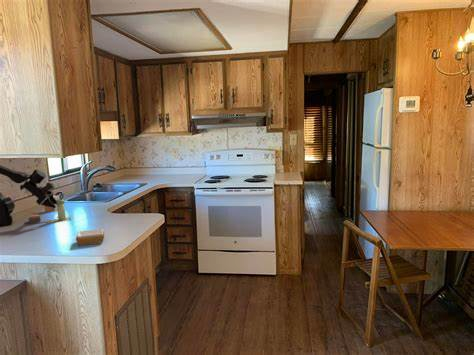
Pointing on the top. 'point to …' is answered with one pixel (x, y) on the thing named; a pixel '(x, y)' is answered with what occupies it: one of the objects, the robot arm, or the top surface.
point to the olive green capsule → (61, 210)
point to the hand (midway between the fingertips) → (56, 205)
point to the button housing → (35, 219)
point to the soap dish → (90, 236)
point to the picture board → (56, 220)
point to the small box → (50, 209)
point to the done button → (34, 216)
